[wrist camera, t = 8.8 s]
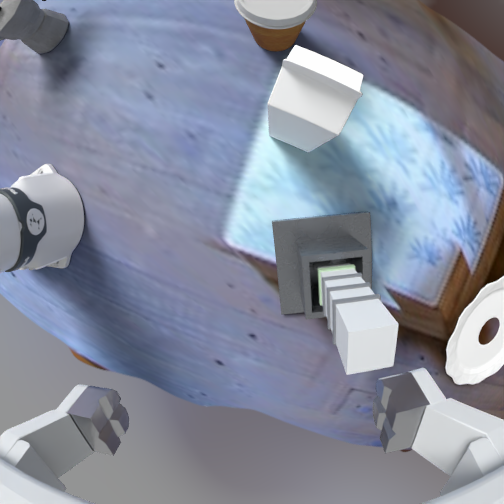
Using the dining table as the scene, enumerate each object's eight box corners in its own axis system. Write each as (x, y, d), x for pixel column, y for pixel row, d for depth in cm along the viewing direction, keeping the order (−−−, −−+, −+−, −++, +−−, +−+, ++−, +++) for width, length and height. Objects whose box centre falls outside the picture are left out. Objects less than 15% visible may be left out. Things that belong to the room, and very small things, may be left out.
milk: (308, 153, 39) (349, 132, 18) (268, 135, 39) (265, 95, 18) (324, 115, 38) (377, 62, 16) (284, 97, 37) (298, 27, 16)
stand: (281, 311, 45) (283, 346, 36) (272, 220, 42) (272, 234, 32) (369, 301, 44) (390, 331, 34) (367, 211, 40) (394, 223, 31)
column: (317, 298, 37) (344, 377, 21) (315, 265, 36) (345, 330, 20) (351, 294, 36) (394, 367, 21) (350, 261, 35) (401, 321, 20)
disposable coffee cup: (229, 35, 35) (215, -6, 23) (274, 1, 33) (274, -43, 21) (276, 72, 36) (277, 37, 25) (320, 36, 34) (335, -4, 23)
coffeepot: (45, 68, 37) (-21, 47, 19) (24, 57, 36) (-36, 40, 18) (90, 1, 33) (38, -38, 16) (65, -4, 32) (15, -36, 15)
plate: (493, 379, 48) (497, 383, 46) (422, 379, 48) (425, 385, 46) (537, 283, 41) (542, 286, 39) (473, 261, 41) (479, 264, 40)
